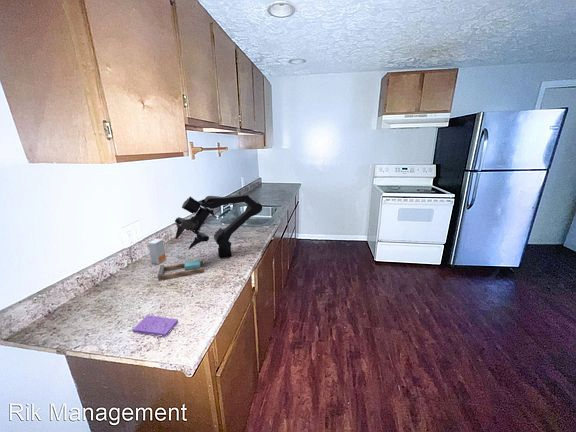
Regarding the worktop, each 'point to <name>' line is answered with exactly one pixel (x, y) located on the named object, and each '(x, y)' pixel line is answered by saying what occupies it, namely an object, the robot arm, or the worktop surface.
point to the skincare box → (157, 251)
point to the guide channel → (177, 274)
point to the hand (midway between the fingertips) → (182, 243)
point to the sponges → (155, 325)
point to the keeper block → (192, 265)
